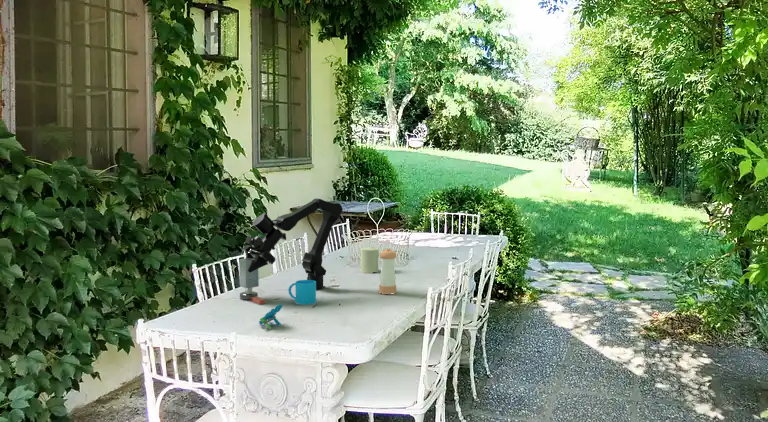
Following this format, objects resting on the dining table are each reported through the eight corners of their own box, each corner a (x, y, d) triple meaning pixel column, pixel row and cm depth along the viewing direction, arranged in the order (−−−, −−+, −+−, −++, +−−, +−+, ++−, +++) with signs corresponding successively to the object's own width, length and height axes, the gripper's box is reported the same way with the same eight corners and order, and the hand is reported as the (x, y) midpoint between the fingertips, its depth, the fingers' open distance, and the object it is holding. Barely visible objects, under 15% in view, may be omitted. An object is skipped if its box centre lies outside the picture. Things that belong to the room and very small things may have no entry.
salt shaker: (398, 292, 277) (399, 248, 275) (391, 295, 270) (392, 250, 269) (383, 290, 280) (384, 246, 278) (376, 293, 274) (376, 249, 272)
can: (382, 271, 323) (382, 247, 322) (371, 274, 315) (372, 249, 314) (366, 269, 328) (367, 245, 327) (356, 271, 320) (356, 248, 319)
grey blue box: (252, 284, 267) (251, 257, 266) (258, 286, 262) (258, 259, 261) (239, 285, 263) (239, 259, 262) (245, 288, 259) (245, 261, 258)
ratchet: (252, 295, 268) (252, 283, 268) (270, 302, 256) (270, 290, 256) (236, 297, 264) (236, 285, 263) (254, 305, 252) (253, 292, 251)
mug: (319, 300, 261) (319, 280, 260) (309, 305, 253) (309, 284, 252) (293, 297, 265) (293, 278, 264) (283, 302, 258) (283, 282, 257)
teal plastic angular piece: (270, 315, 232) (284, 299, 227) (280, 327, 231) (295, 311, 226) (250, 326, 222) (265, 310, 217) (261, 339, 221) (276, 323, 216)
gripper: (246, 226, 270) (222, 255, 264) (268, 231, 255) (242, 261, 250) (263, 243, 276) (240, 271, 270) (285, 248, 261) (261, 279, 256)
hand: (245, 270), depth 261 cm, fingers closed on grey blue box, 6 cm apart
